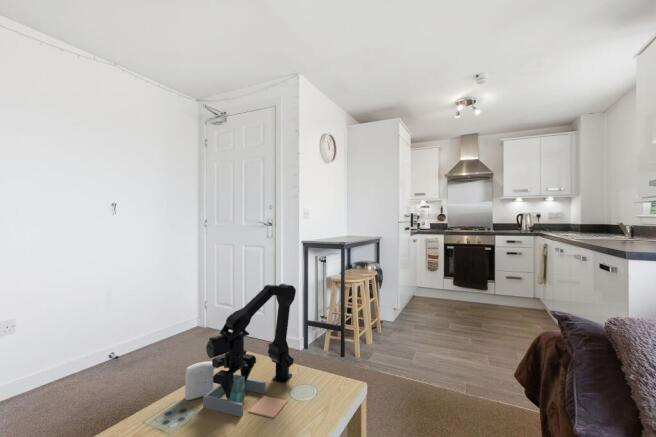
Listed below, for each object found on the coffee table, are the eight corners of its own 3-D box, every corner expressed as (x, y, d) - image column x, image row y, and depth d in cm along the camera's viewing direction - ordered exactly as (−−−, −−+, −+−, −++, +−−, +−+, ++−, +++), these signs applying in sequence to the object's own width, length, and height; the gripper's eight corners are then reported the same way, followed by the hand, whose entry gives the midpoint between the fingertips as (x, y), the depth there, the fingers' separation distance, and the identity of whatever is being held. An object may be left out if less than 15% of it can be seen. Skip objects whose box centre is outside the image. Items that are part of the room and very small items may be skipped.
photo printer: (212, 388, 120) (212, 357, 120) (214, 393, 117) (215, 361, 117) (184, 396, 114) (184, 364, 115) (185, 402, 111) (186, 368, 111)
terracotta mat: (263, 396, 114) (263, 395, 114) (287, 401, 111) (287, 400, 111) (248, 412, 105) (248, 411, 105) (274, 418, 101) (274, 417, 101)
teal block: (234, 395, 115) (234, 374, 116) (244, 397, 114) (244, 376, 114) (226, 401, 111) (227, 380, 111) (237, 404, 110) (237, 382, 110)
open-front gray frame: (231, 385, 123) (231, 375, 123) (265, 392, 117) (265, 381, 117) (203, 407, 108) (203, 396, 108) (241, 416, 102) (241, 405, 102)
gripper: (233, 337, 124) (233, 376, 124) (200, 356, 107) (200, 401, 106) (256, 341, 121) (256, 380, 120) (226, 361, 103) (226, 407, 103)
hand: (235, 391), depth 113 cm, fingers open, 9 cm apart
